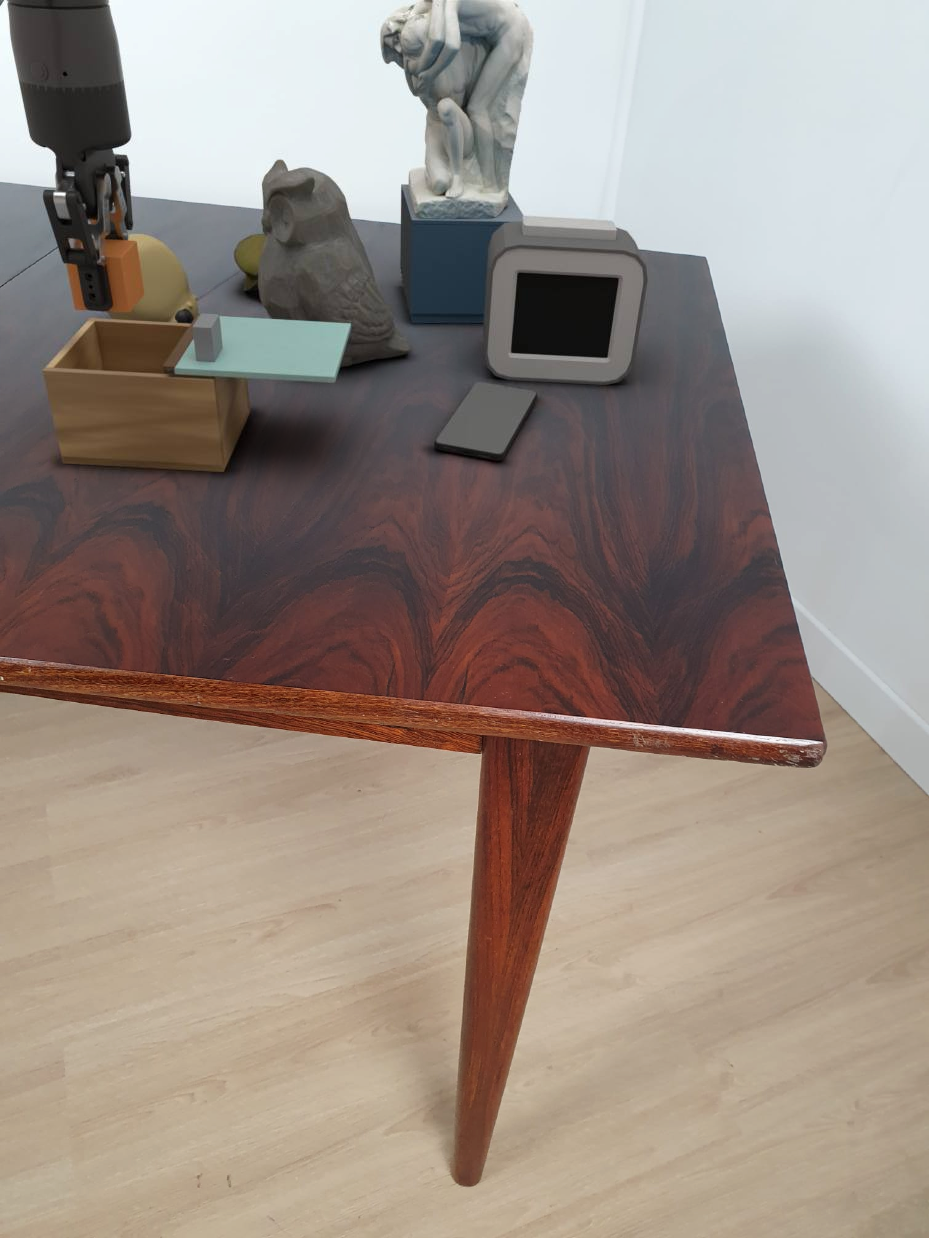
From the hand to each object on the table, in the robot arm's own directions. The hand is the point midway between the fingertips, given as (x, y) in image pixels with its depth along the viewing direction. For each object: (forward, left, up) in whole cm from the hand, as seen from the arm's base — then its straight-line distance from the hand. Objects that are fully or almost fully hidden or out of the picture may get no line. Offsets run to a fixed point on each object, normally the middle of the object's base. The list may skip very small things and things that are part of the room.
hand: (109, 298), depth 84 cm
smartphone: (+33, -10, -13) cm, 37 cm away
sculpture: (+46, +23, -14) cm, 53 cm away
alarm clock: (+48, +1, -14) cm, 49 cm away
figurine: (+26, +12, -14) cm, 31 cm away
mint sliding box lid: (+11, -6, -4) cm, 13 cm away
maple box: (+3, 0, -13) cm, 14 cm away
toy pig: (+9, +27, -14) cm, 31 cm away
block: (0, 0, 0) cm, 0 cm away
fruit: (+27, +36, -14) cm, 46 cm away
